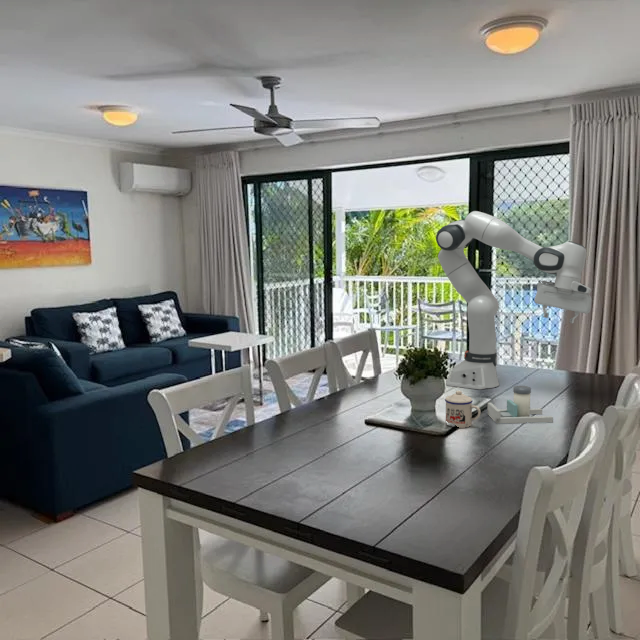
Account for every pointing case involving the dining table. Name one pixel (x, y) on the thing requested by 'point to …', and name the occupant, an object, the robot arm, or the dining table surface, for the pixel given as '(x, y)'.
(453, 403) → the teacup with lid
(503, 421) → the lane
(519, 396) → the jar
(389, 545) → the dining table surface
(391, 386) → the dining table surface
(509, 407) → the pusher
